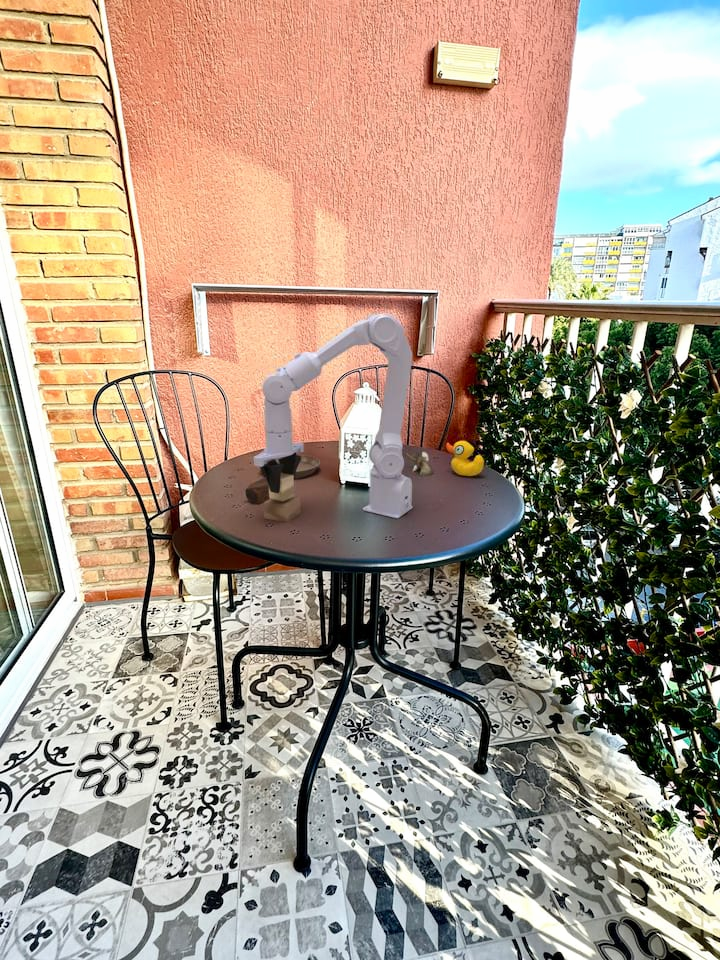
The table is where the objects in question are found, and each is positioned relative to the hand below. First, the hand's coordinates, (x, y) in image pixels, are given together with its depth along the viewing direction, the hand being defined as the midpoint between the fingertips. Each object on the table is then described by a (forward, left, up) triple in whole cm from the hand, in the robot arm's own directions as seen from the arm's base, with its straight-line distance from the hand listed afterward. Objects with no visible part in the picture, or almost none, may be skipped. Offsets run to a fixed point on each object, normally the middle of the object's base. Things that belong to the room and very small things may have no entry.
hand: (281, 489), depth 111 cm
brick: (+11, -7, -7) cm, 15 cm away
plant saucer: (+20, -27, -7) cm, 34 cm away
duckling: (-25, -51, -7) cm, 57 cm away
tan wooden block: (0, 0, -7) cm, 7 cm away
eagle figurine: (-12, -47, -7) cm, 50 cm away
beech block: (0, 0, -2) cm, 2 cm away
